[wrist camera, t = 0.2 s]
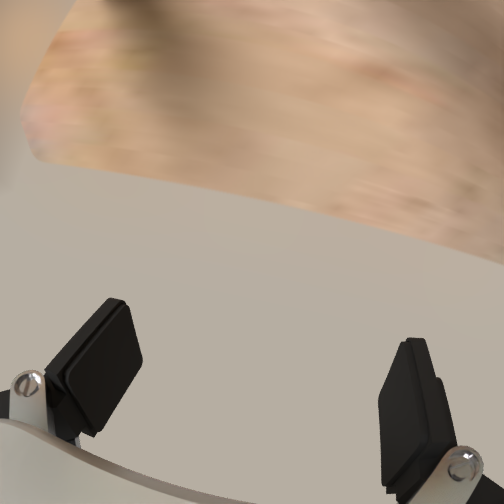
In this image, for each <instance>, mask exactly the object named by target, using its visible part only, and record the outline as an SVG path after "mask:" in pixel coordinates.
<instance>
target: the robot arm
mask: <svg viewBox="0 0 504 504" xmlns="http://www.w3.org/2000/svg"><path fill="white" fill-rule="evenodd" d="M142 362H143V358H142V354H141V351H140V347H139V343H138V340H137V336H136V332H135V328H134V324H133V320H132V316H131V312H130V308H129V306H128V305H126V303H125V301H123V300H119V299H114V298H108V299H107V300H106V301H105V302H104V303H103V304H102V305H101V307H100V308H99V309H98V310H97V311H96V312H95V313H94V314H93V315H92V316H91V317H90V319H88V321H87V322H86V323H85V324H84V325H83V326H82V327H81V328H80V329H79V331H78V332H77V333H76V334H75V335H74V336H73V337H72V338H71V339H70V340H69V342H68V343H67V344H66V345H65V346H64V347H63V348H62V350H61V351H60V352H59V353H58V354H57V355H56V356H55V358H54V359H53V360H52V361H51V362H50V363H49V365H48V366H47V367H46V368H45V369H44V370H45V372H46V373H45V375H44V376H43V375H42V374H41V373H40V372H38V371H36V370H28V371H24V372H22V373H20V374H19V375H17V376H16V377H15V378H14V380H13V382H12V383H11V388H10V390H6V391H2V392H0V504H254V503H249V502H243V501H238V500H233V499H228V498H224V497H219V496H214V495H210V494H206V493H202V492H198V491H195V490H191V489H187V488H184V487H180V486H177V485H173V484H170V483H167V482H164V481H160V480H158V479H154V478H152V477H148V476H146V475H143V474H140V473H138V472H135V471H132V470H130V469H127V468H124V467H122V466H119V465H117V464H114V463H112V462H110V461H107V460H105V459H102V458H100V457H98V456H96V455H93V454H91V453H89V452H87V451H85V450H83V449H81V445H80V441H79V434H80V433H81V431H82V432H83V433H85V434H87V435H89V436H91V437H95V435H96V434H97V432H100V431H102V429H103V428H104V426H105V424H106V423H107V421H108V419H109V418H110V416H111V415H112V413H113V411H114V410H115V408H116V407H117V405H118V403H119V402H120V400H121V398H122V397H123V395H124V394H125V392H126V390H127V389H128V387H129V385H130V384H131V382H132V381H133V379H134V377H135V376H136V374H137V373H138V371H139V370H140V368H141V366H142ZM378 408H379V423H380V442H381V481H382V486H386V494H396V501H397V502H398V503H397V504H504V489H503V488H502V487H500V486H499V485H497V484H496V483H495V482H493V481H492V480H490V479H489V478H487V477H486V476H485V475H483V474H482V473H483V461H482V458H481V456H480V455H479V453H478V452H477V451H476V450H474V449H473V448H471V447H468V446H457V441H456V436H455V431H454V426H453V422H452V418H451V413H450V409H449V405H448V401H447V397H446V393H445V389H444V385H443V382H442V380H441V379H440V378H438V377H436V375H435V372H434V368H433V365H432V361H431V358H430V354H429V351H428V347H427V344H426V341H425V339H424V338H407V339H406V341H405V342H401V343H400V346H399V348H398V350H397V353H396V356H395V358H394V361H393V363H392V366H391V368H390V371H389V373H388V375H387V378H386V380H385V382H384V385H383V387H382V389H381V391H380V394H379V398H378Z"/></svg>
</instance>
